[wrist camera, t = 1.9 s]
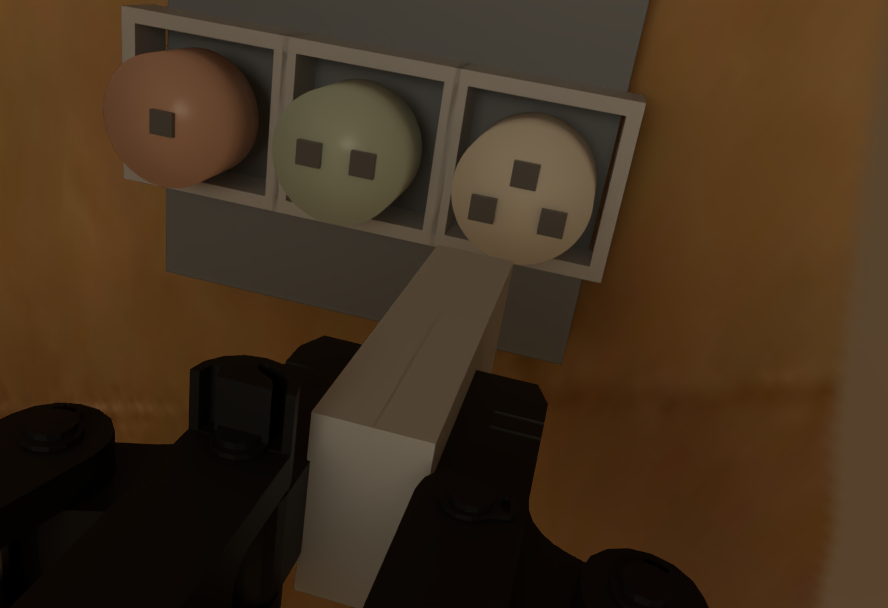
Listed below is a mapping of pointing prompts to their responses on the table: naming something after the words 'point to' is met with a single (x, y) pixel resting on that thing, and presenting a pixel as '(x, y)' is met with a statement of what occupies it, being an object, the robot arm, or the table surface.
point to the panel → (442, 130)
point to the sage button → (346, 150)
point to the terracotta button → (180, 115)
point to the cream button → (525, 188)
